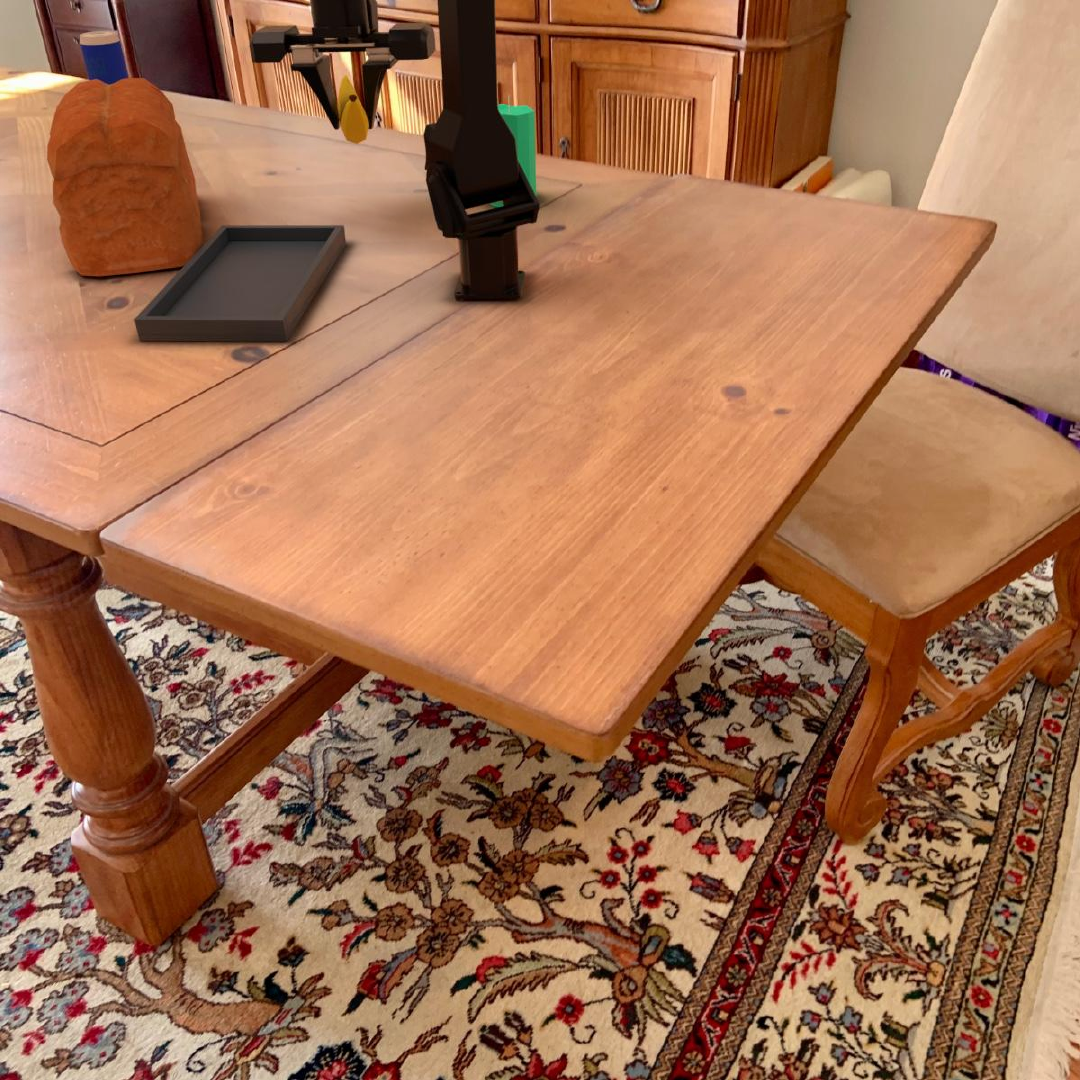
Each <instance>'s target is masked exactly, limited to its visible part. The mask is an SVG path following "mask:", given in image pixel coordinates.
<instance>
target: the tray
mask: <svg viewBox="0 0 1080 1080" xmlns="http://www.w3.org/2000/svg"><path fill="white" fill-rule="evenodd" d="M346 245H347V239H346V233H345V226H344V224H337V225H335V224H330V225H329V224H327V225H326V224H321V225H320V224H316V225H315V224H314V225H313V224H312V225H311V224H306V225H305V224H301V225H299V224H298V225H297V224H295V225H293V224H291V225H290V224H285V225H283V224H281V225H280V224H279V225H278V224H277V225H276V224H270V225H267V224H264V225H262V224H261V225H260V224H258V225H257V224H256V225H255V224H253V225H252V224H249V225H247V224H245V225H242V224H241V225H240V224H236V225H235V224H233V225H231V224H229V225H227V224H226V225H224V224H222V225H221V226H220V227H219V228H218V229H217V230H216V231H215V232H214V233H213V234H212V235H211V236H210V237H209V239H208V240H207V241H206V242H205V243H203V246H202V247H201V248H200V250H199V251H198V252H197V253H196V254H195V255H194V256H193V257H192V258H191V259H190V260H189V261H188V262H187V263H186V264H185V265H184V266H182V268H181V269H179V270H178V271H177V272H176V274H175V275H174V276H173V277H172V278H171V279H170V280H169V281H168V282H167V284H166V285H165V286H164V287H163V288H162V289H161V290H160V291H159V292H158V293H157V294H156V295H155V296H154V298H153V299H151V300H150V302H149V303H148V304H147V305H146V306H145V307H144V308H143V310H141V311H140V312H139V313H138V315H136V316H135V317H134V319H133V321H134V325H135V329H136V332H137V336H138V340H139V341H140V342H258V343H259V342H268V343H269V342H278V343H279V342H282V343H283V342H284V343H287V342H288V340H289V338H290V337H291V335H292V334H293V332H294V331H295V329H296V327H297V325H298V324H299V322H300V321H301V319H302V317H303V316H304V315H305V313H306V311H307V309H308V308H309V306H310V305H311V303H312V301H313V299H314V298H315V296H316V294H317V293H318V291H319V289H320V288H321V286H322V284H323V283H324V281H325V279H326V278H327V277H328V276H329V275H328V274H329V273H330V272H331V270H332V268H333V266H334V265H335V263H336V262H337V260H338V258H339V257H340V255H341V253H342V252H343V250H344V248H345V247H346Z"/></svg>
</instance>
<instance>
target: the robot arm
mask: <svg viewBox="0 0 1080 1080" xmlns="http://www.w3.org/2000/svg"><path fill="white" fill-rule="evenodd" d="M309 3H310V12H311V18H312V25H313V26H312V27H311V33H300V31H299V28H298V26H297V25H296V24H295V25H293V24H291V25H265V26H263V27H261V28H259V29H258V30H255V31H254V32H253V33H252V34H251V36H250V38H249V51H250V56H251V62H252V63H253V64H254V63H255V64H268V63H269V64H273V63H275V64H276V63H277V64H279V63H281V62H282V61H283V60H284V58H285V57H286V56H287V55H288V54H291V60H292V61H291V62H292V64H290V70H291V71H292V72H298V73H300V75H301V76H302V77H303V79H304V80H305V82H306V84H308V86H309V87H310V89H311V90H312V91H313V93H314V95H315V96H316V98H317V100H318V101H319V104H320V106H321V107H322V110H323V111H324V113H325V114H326V117H327V118H328V120H329V123H330V124H331V126H332V127H333V129H334V130H335V131H338V130H339V129H341V126H340V120H339V112H338V101H337V98H336V94H335V89H334V85H333V84H334V83H333V78H332V73H331V56H330V55H324V54H325V53H365V54H366V56H367V60H366V61H365V62H363V63H362V64H361V71H362V85H363V86H362V87H363V100H364V110H365V112H366V115H367V118H368V123H369V129H368V130H373V128H374V126H375V121H376V115H377V111H378V106H379V100H380V94H381V89H382V87H383V82H384V79H385V76H386V73H387V71H388V70H391V69H392V68H393V67H394V66H395V65H396V64H397V63H398V62H400V61H424V60H429V58H431V56H432V55H434V53H435V52H436V51H437V49H436V38H435V37H436V35H435V31H434V28H433V26H432V25H431V24H430V23H429V22H396V23H395V24H394V25H393V26H392V27H390V28H389V29H388V31H379V11H378V1H377V0H309ZM437 16H438V19H437V20H438V33H439V34H438V35H439V52H440V53H439V54H440V68H441V69H440V71H441V87H442V110H441V112H440V114H439V116H438V118H437V121H436V122H433V123H428V124H426V125H425V126H424V130H423V137H422V138H423V143H424V151H425V163H424V170H425V171H426V172H425V184H426V188H427V191H428V196H429V199H430V203H431V208H432V211H433V216H434V219H435V222H436V226H437V229H438V230H439V231H441V233H442V237H444V238H446V239H457V241H458V253H459V254H458V255H459V270H460V272H459V273H460V274H459V277H458V280H457V283H456V286H455V289H454V292H453V297H454V299H455V300H520V299H521V298H522V294H523V288H524V283H525V278H526V272H525V271H524V270H519V246H518V244H519V242H518V227H520V226H524V225H525V226H526V225H528V224H531V225H532V224H536V223H537V222H538V217H539V212H540V208H541V206H540V202H539V199H538V197H537V195H536V196H535V194H534V192H533V190H532V188H531V186H530V184H529V182H528V180H527V178H526V175H525V173H524V171H523V169H522V167H521V165H520V163H519V161H518V158H517V149H516V140H515V137H514V135H513V133H512V132H511V130H510V128H509V127H508V125H507V123H506V122H505V120H504V118H503V117H502V115H501V113H500V112H499V110H498V105H499V103H498V100H499V99H498V67H497V66H498V65H497V27H496V26H497V24H496V0H437ZM500 201H503V205H504V206H501V207H493V208H489V209H485V210H481V211H476V212H472V213H468V212H467V210H471V209H474V208H479V207H484V206H486V205H490V204H492V203H496V202H500Z"/></svg>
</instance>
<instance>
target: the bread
mask: <svg viewBox="0 0 1080 1080" xmlns="http://www.w3.org/2000/svg"><path fill="white" fill-rule="evenodd" d="M184 138H185V137H184V135H183V131H182V127H181V125H180V124H179V123H178V121H177V120H176V113H175V110H174V105H173V103H172V102H171V100H169V98H168V97H167V96H166V95H165V94H164V92H163V91H162V90H161V89H160V88H158V87H157V86H155V84H153V83H151V82H150V81H149V80H147V79H146V78H144V77H128V78H126V79H122V80H119V81H117V82H116V83H113V84H111V85H108V84H106V83H104V82H102V81H100V80H98V79H94V80H90V81H89V80H85V81H80V82H78V83H76V84H75V85H74V86H73V87H72V88H71V89H70V90H69V91H67V92H66V93H65V94H64V95H63V96H62V98H61V100H60V102H59V103H58V104H57V105H56V107H55V111H54V113H53V117H52V123H51V126H50V131H49V139H48V142H47V145H46V146H47V147H46V161H47V164H48V167H49V170H50V172H51V175H52V178H53V180H52V204H53V206H54V208H55V210H56V212H57V213H58V215H59V220H60V223H59V226H58V227H59V228H58V229H59V234H60V238H61V239H60V240H61V243H62V246H63V249H64V250H65V253H66V255H67V257H68V259H69V261H70V264H71V266H72V268H73V269H74V271H76V272H77V273H78V274H79V275H81V276H87V277H104V276H105V277H108V276H116V275H128V274H136V273H144V272H150V271H151V272H152V271H159V270H167V269H173V268H174V269H175V268H180V267H184V266H185V264H186V263H187V262H188V261H189V260H190V259H191V258H192V257H193V256H194V255H195V254H196V253H197V252H198V251H199V250H200V248H201V247H202V246H203V245H204V239H203V231H202V221H201V211H200V206H199V200H198V199H199V198H198V192H197V185H196V177H195V174H194V170H193V167H192V165H191V161H190V158H189V154H188V151H187V146H186V142H185V139H184Z"/></svg>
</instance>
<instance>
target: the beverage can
mask: <svg viewBox="0 0 1080 1080" xmlns="http://www.w3.org/2000/svg"><path fill="white" fill-rule="evenodd" d="M79 45H80V49H81V53H82V54H81V55H82V56H83V57H82V58H83V62H84V64H85V69H86V73H87V76H88V81H90V80H94V79H98V80H100V81H102V82H104V83H106V84H108V85H111V84H113V83H116V82H117V81H119V80H122V79H126V78H129V74H128V70H127V66H126V61H125V57H124V53H123V49H122V45H121V40H120V38H119V36H118V34H117V32H116V31H115V30H114V31H113V30H96V31H88V32H83V33H81V34H80V35H79Z"/></svg>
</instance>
